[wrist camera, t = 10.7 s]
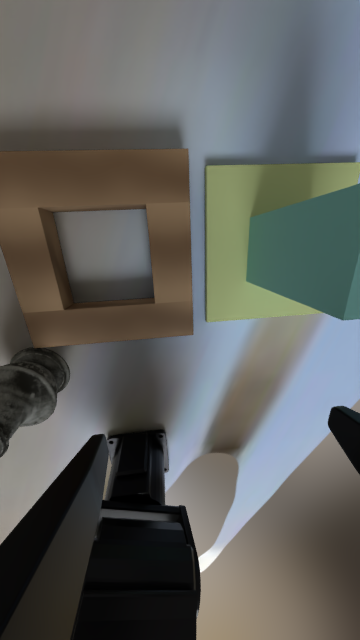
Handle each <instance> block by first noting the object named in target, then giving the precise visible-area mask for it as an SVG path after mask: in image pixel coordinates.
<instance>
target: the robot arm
mask: <svg viewBox="0 0 360 640" xmlns="http://www.w3.org/2000/svg"><path fill="white" fill-rule="evenodd" d="M328 426H329V428H330V430H331V432H332V433H333V435H334V436H335V438H336V440H337V441H338V442H339V444H340V446H341V447H342V449H343V450H344V452H345V453H346V455H347V457H348V458H349V460H350V461H351V463H352V464H353V466H354V467H355V469H356V470H357V472H358V473H359V474H360V413H358V412H355V411H353V410H351V409H349V408H347V407H345V406H336V407H332V409H331V411H330V415H329V419H328ZM108 455H110V460H111V464H112V467H111V472H110V477H109V481H108V486H107V491H106V496H105V500H102V498H103V491H104V484H105V477H106V470H107V463H108ZM168 471H169V464H168V453H167V443H166V433H165V431H164V430H156V431H147V432H139V433H130V434H122V435H114V436H109V437H108V438H107V441H106V437H105V435H104V434H97V435H93V436H92V437H91V438H90V439H89V440H88V441H87V442H86V444H85V445H84V446H83V447H82V448H81V450H80V451H79V452H78V453H77V454H76V456H75V457H74V458H73V459H72V460H71V461H70V463H69V464H68V465H67V466H66V467H65V469H64V470H63V471H62V472H61V473H60V475H59V476H58V477H57V478H56V479H55V480H54V482H53V483H52V484H51V485H50V486H49V488H48V489H47V490H46V491H45V492H44V494H43V495H42V496H41V497H40V498H39V500H38V501H37V502H36V503H35V504H34V505H33V507H32V508H31V509H30V510H29V511H28V513H27V514H26V515H25V516H24V517H23V519H22V520H21V521H20V522H19V523H18V524H17V526H16V527H15V528H14V529H13V530H12V532H11V533H10V534H9V535H8V536H7V538H6V539H5V540H4V541H3V542H2V543H1V545H0V640H196V619H197V616H198V612H199V605H200V592H201V589H200V587H201V585H200V568H199V561H198V556H197V552H196V548H195V543H194V539H193V536H192V531H191V527H190V523H189V519H188V515H187V511H186V507H185V506H182V505H179V506H168V505H165V477H164V473H165V472H168Z"/></svg>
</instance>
